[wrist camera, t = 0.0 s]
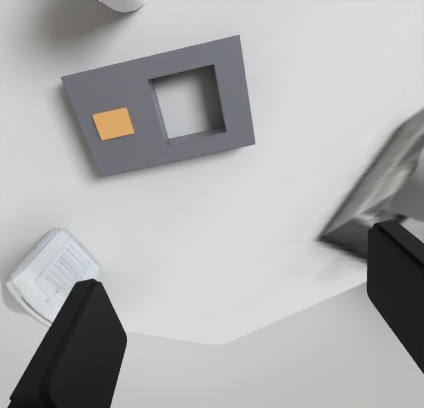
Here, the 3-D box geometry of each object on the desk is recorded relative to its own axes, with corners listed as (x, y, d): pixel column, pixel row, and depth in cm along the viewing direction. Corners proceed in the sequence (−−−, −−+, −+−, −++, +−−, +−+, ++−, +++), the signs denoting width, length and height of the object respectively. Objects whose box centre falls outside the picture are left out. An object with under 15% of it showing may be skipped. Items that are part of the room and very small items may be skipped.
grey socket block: (72, 76, 35) (58, 77, 32) (235, 37, 34) (239, 34, 31) (108, 168, 41) (99, 178, 37) (251, 137, 39) (256, 145, 36)
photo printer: (40, 235, 45) (-13, 292, 34) (61, 222, 44) (14, 276, 33) (85, 280, 49) (51, 345, 37) (106, 269, 48) (78, 331, 37)
